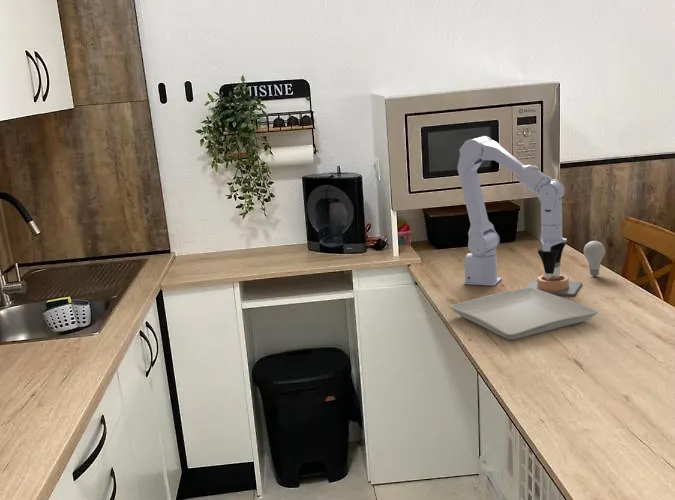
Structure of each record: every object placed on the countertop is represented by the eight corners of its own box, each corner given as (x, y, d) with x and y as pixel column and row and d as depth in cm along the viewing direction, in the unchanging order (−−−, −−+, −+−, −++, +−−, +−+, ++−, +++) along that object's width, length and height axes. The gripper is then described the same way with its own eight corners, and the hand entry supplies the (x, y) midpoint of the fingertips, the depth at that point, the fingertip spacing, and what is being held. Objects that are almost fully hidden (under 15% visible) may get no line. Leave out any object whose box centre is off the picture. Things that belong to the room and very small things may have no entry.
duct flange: (523, 293, 208) (523, 282, 207) (533, 281, 218) (533, 271, 217) (573, 296, 201) (573, 285, 200) (582, 284, 211) (581, 273, 210)
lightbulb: (606, 279, 214) (606, 243, 212) (585, 279, 216) (584, 243, 213) (603, 273, 220) (603, 238, 218) (582, 274, 221) (582, 239, 219)
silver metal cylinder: (542, 288, 208) (542, 265, 206) (544, 283, 212) (544, 260, 211) (559, 288, 206) (559, 265, 205) (561, 284, 210) (561, 261, 209)
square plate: (447, 318, 194) (446, 304, 193) (530, 298, 204) (530, 285, 203) (509, 348, 170) (508, 332, 169) (600, 324, 180) (600, 309, 179)
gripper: (560, 229, 197) (561, 277, 200) (571, 218, 209) (571, 264, 212) (534, 228, 200) (535, 276, 204) (546, 218, 213) (547, 262, 216)
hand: (552, 269), depth 208 cm, fingers open, 7 cm apart
